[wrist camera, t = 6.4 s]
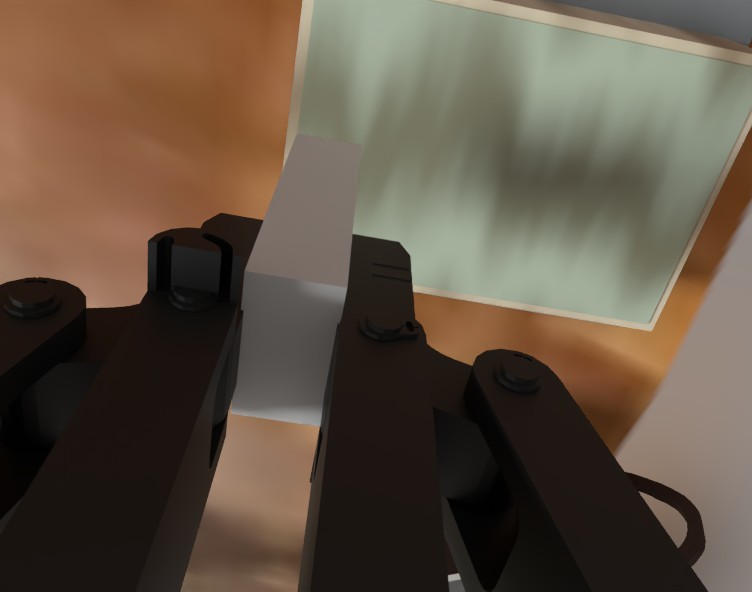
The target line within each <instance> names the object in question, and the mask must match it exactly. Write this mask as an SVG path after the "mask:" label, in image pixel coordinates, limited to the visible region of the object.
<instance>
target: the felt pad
mask: <svg viewBox="0 0 752 592" xmlns="http://www.w3.org/2000/svg"><path fill="white" fill-rule="evenodd" d="M547 1H552V2H556V3H561V4H566V5H571V6H576V7H580V8H585V9H590V10H595V11H599V12H604V13H609V14H614V15H619V16H623V17H628V18H633V19H638V20H642V21H647V22H652V23H657V24H662V25H666V26H671V27H676V28H681V29H685V30H690V31H695V32H700V33H705V34H709V35H714V36H719V37H724V38H727V39H730V40H732V41H735V42H737V43H740V44H742V45H745V46H747V47H748V46H749V44H750V42H751V40H752V0H547ZM417 293H419V292H417ZM423 294H425V293H423ZM429 295H431V294H429ZM435 296H437V295H435ZM441 297H443V296H441ZM447 298H449V297H447ZM453 299H455V298H453ZM459 300H461V299H459ZM465 301H467V300H465ZM471 302H473V301H471ZM477 303H479V302H477ZM483 304H484V303H483ZM489 305H490V304H489ZM495 306H496V305H495ZM501 307H502V306H501ZM507 308H508V307H507ZM513 309H514V308H513ZM519 310H520V309H519ZM525 311H526V310H525ZM531 312H532V311H531ZM537 313H538V312H537ZM543 314H544V313H543ZM549 315H550V314H549ZM555 316H556V315H555ZM561 317H562V316H561ZM567 318H568V317H567ZM573 319H574V318H573ZM579 320H580V319H579ZM585 321H586V320H585ZM591 322H592V321H591ZM597 323H598V322H597ZM603 324H604V323H603ZM609 325H610V324H609ZM615 326H616V325H615Z"/></svg>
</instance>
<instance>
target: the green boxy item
mask: <svg viewBox="0 0 752 592" xmlns="http://www.w3.org/2000/svg"><path fill="white" fill-rule="evenodd" d="M751 126H752V48H750V47H747V46H745V45H742V44H740V43H737V42H735V41H732V40H730V39H727V38H724V37H719V36H714V35H709V34H705V33H700V32H695V31H690V30H685V29H681V28H676V27H671V26H666V25H662V24H657V23H652V22H647V21H642V20H638V19H633V18H628V17H623V16H619V15H614V14H609V13H604V12H599V11H595V10H590V9H585V8H580V7H576V6H571V5H566V4H561V3H556V2H552V1H547V0H303V2H302V11H301V19H300V27H299V36H298V44H297V53H296V61H295V70H294V78H293V86H292V95H291V103H290V112H289V120H288V129H287V137H286V146H285V154H284V162H283V168H284V166H285V163H286V160H287V158H288V155H289V152H290V150H291V147H292V145H293V142H294V139H295V137H296V134H303V135H308V136H314V137H319V138H324V139H330V140H335V141H341V142H346V143H351V144H357V145H361V150H360V161H359V171H358V182H357V192H356V203H355V213H354V223H353V234H357V235H363V236H368V237H374V238H380V239H386V240H391V241H397V242H400V243H401V245H402V246H403V247H404V248H405V250H406V251H407V252H408V253H409V255H410V257H411V272H412V284H413V292H419V293H425V294H431V295H437V296H443V297H449V298H455V299H461V300H467V301H473V302H479V303H484V304H490V305H496V306H502V307H508V308H514V309H520V310H526V311H532V312H538V313H544V314H550V315H556V316H562V317H568V318H574V319H580V320H586V321H592V322H598V323H604V324H610V325H616V326H622V327H628V328H634V329H640V330H646V331H652V330H653V328H654V326H655V323H656V321H657V319H658V317H659V315H660V313H661V311H662V309H663V307H664V305H665V303H666V301H667V299H668V297H669V295H670V293H671V291H672V288H673V286H674V284H675V282H676V280H677V278H678V276H679V274H680V272H681V270H682V268H683V266H684V264H685V262H686V260H687V258H688V255H689V253H690V251H691V249H692V247H693V245H694V243H695V241H696V239H697V237H698V235H699V233H700V231H701V229H702V227H703V225H704V223H705V220H706V218H707V216H708V214H709V212H710V210H711V208H712V206H713V204H714V202H715V200H716V198H717V196H718V194H719V192H720V190H721V187H722V185H723V183H724V181H725V179H726V177H727V175H728V173H729V171H730V169H731V167H732V165H733V163H734V161H735V159H736V157H737V154H738V152H739V150H740V148H741V146H742V144H743V142H744V140H745V138H746V136H747V134H748V132H749V130H750V128H751Z"/></svg>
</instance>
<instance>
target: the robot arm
mask: <svg viewBox="0 0 752 592" xmlns="http://www.w3.org/2000/svg"><path fill="white" fill-rule="evenodd" d="M360 150H361V145H357V144H351V143H346V142H341V141H335V140H330V139H324V138H319V137H314V136H308V135H303V134H296V137H295V139H294V142H293V145H292V147H291V150H290V152H289V155H288V158H287V160H286V163H285V166H284V168H283V171H282V174H281V176H280V179H279V181H278V184H277V187H276V189H275V192H274V195H273V197H272V200H271V203H270V205H269V208H268V210H267V213H266V216H265V218H264V220H259V219H253V218H247V217H242V216H236V215H230V214H224V213H220V214H218V215H216V216H214V217H213V218H211V219H209V220H207V221H205V222H204V223H203V225H202V226H201V228H189V227H188V228H178V229H170V230H167V231H164V232H161V233H158V234H156V235H155V236H154V237H152V238H151V239H150V240H149V241H148V291H147V293H146V294H145V296H144V297H143V299H142V301H141V302H140V304H136V305H132V306H125V307H114V308H86V296H85V295H84V294H83V292H82V291H81V290H80V289H79V288H78V287H76V286H74V285H72V284H70V283H68V282H65V281H61V280H55V279H50V278H41V277H39V278H36V277H34V278H24V279H20V280H15V281H10V282H6V283H4V284H2V285H0V592H180V590H181V587H182V583H183V580H184V577H185V573H186V570H187V566H188V563H189V559H190V556H191V553H192V549H193V546H194V542H195V539H196V536H197V532H198V529H199V525H200V522H201V519H202V515H203V512H204V508H205V505H206V501H207V498H208V495H209V491H210V488H211V484H212V481H213V478H214V474H215V471H216V467H217V464H218V461H219V457H220V454H221V450H222V447H223V443H224V440H225V437H226V427H227V416H228V410H229V407H230V404H231V400H232V408H231V414H238V415H245V416H252V417H258V418H265V419H272V420H279V421H285V422H292V423H299V424H306V425H313V426H319V427H320V430H319V435H318V441H317V446H316V451H315V457H314V462H313V467H312V472H311V478H310V483H312V484H311V491H310V499H309V507H308V515H307V522H306V530H305V538H304V546H303V553H302V561H301V569H300V577H299V584H298V592H449V581H448V570H447V559H446V549H445V538H446V540H447V543H448V546H449V548H450V551H451V554H452V557H453V559H454V562H455V565H456V568H457V570H458V573H459V576H460V578H461V581H462V584H463V587H464V589H465V592H708V591H707V589H706V588H705V586H704V585H703V584H702V582H701V581H700V579H699V578H698V577H697V575H696V573H695V572H694V571H693V569H692V568H691V566H690V565H689V563H688V562H687V561H686V559H685V558H684V556H683V555H682V553H681V552H680V551H679V549H678V548H677V546H676V545H675V543H674V542H673V541H672V539H671V538H670V536H669V535H668V533H667V532H666V531H665V529H664V528H663V526H662V525H661V523H660V522H659V521H658V519H657V518H656V516H655V515H654V514H653V512H652V510H651V509H650V508H649V506H648V505H647V503H646V502H645V500H644V499H643V498H642V496H641V495H640V493H639V492H638V490H637V489H636V488H635V486H634V485H633V483H632V482H631V480H630V479H629V478H628V476H627V475H626V473H625V472H624V470H623V469H622V468H621V466H620V465H619V464H618V462H617V461H616V459H615V458H614V456H613V455H612V453H611V452H610V450H609V449H608V448H607V446H606V445H605V443H604V442H603V440H602V439H601V438H600V436H599V435H598V433H597V432H596V430H595V429H594V428H593V426H592V425H591V423H590V422H589V420H588V419H587V418H586V416H585V415H584V413H583V412H582V410H581V409H580V408H579V406H578V405H577V403H576V402H575V400H574V399H573V398H572V396H571V395H570V393H569V392H568V390H567V389H566V388H565V386H564V385H563V383H562V382H561V380H560V379H559V378H558V376H557V375H556V374H555V373H554V372H553V371H552V370H551V369H550V368H549V367H548V366H547V365H545V364H543V363H542V362H540V361H539V360H537V359H535V358H534V357H532V356H530V355H527V354H523V353H522V352H518V351H512V350H505V349H496V350H488V351H485V352H483V353H482V354H480V355H478V356H477V357H476V359H475V362H474V364H473V366H471V365H468V364H465V363H463V362H460V361H457V360H454V359H452V358H450V357H447V356H445V355H443V354H441V353H439V352H438V351H436V350H435V349H433V348H431V347H430V346H429V345H428V344H427V341H426V334H425V332H424V329H423V327H422V325H421V324H420V323H419V322H418V321H417V320H416V319H415V311H414V297H413V284H412V272H411V257H410V255H409V253H408V252H407V251H406V250H405V248H404V247H403V246H402V245H401V243H400V242H397V241H391V240H386V239H380V238H374V237H368V236H363V235H357V234H353V223H354V213H355V203H356V192H357V182H358V171H359V161H360ZM444 535H445V538H444Z"/></svg>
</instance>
